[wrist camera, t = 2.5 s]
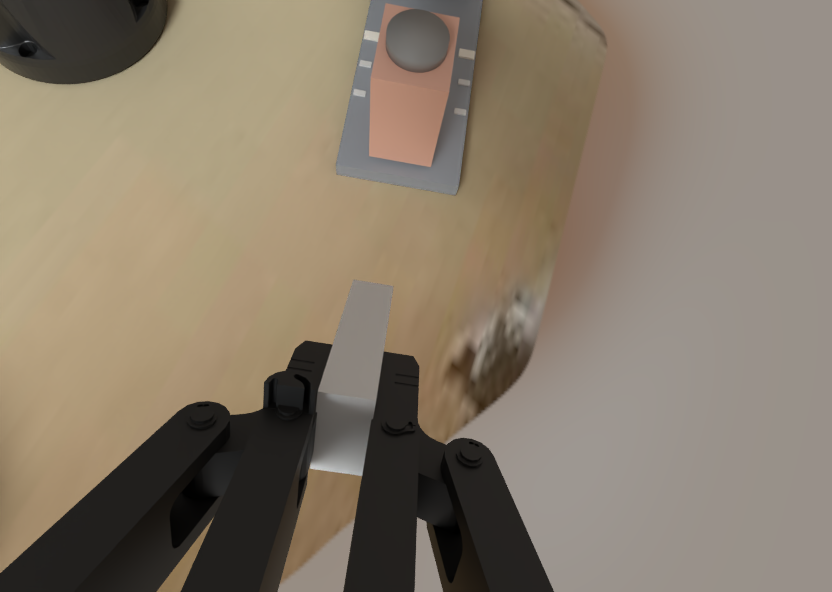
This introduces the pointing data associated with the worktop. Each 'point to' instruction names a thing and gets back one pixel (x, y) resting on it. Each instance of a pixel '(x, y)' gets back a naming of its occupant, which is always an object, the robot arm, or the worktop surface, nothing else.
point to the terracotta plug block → (410, 83)
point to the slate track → (450, 143)
